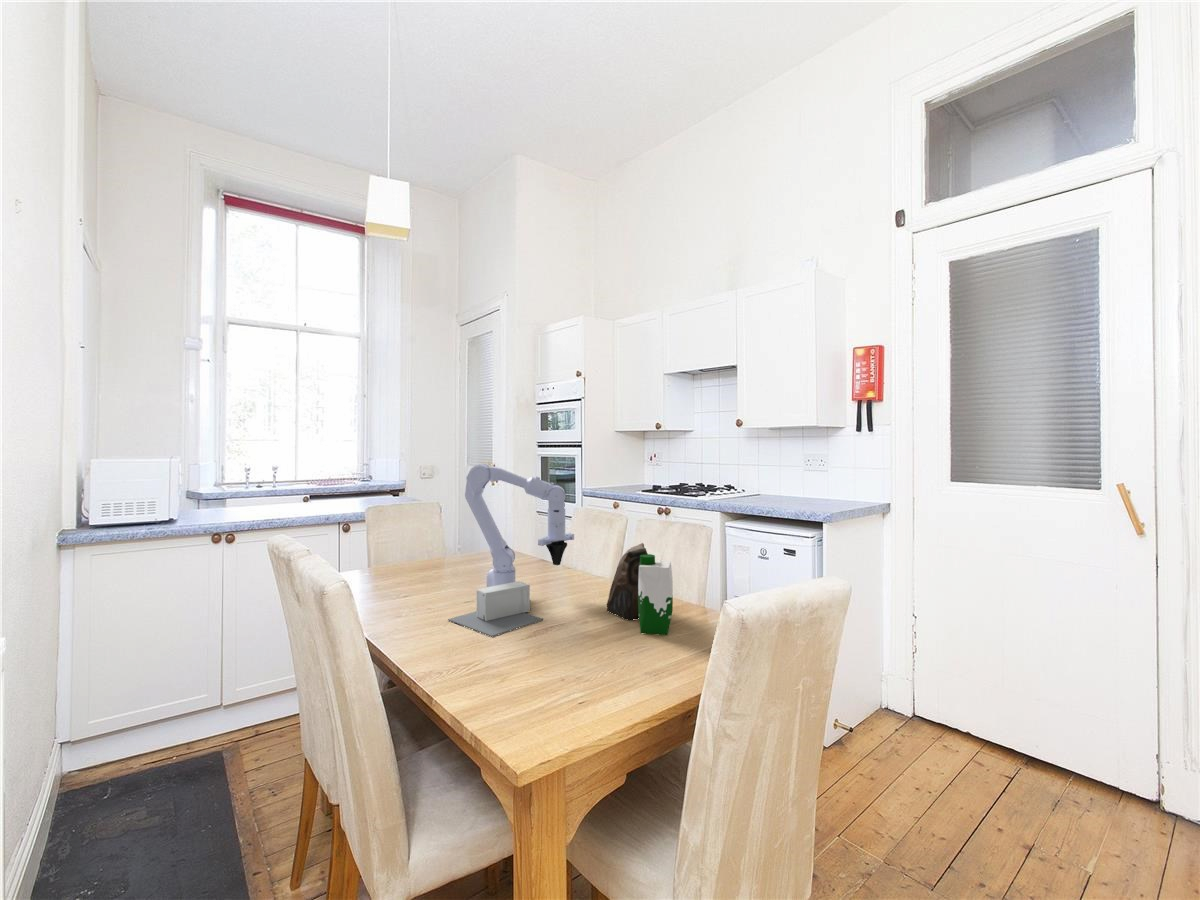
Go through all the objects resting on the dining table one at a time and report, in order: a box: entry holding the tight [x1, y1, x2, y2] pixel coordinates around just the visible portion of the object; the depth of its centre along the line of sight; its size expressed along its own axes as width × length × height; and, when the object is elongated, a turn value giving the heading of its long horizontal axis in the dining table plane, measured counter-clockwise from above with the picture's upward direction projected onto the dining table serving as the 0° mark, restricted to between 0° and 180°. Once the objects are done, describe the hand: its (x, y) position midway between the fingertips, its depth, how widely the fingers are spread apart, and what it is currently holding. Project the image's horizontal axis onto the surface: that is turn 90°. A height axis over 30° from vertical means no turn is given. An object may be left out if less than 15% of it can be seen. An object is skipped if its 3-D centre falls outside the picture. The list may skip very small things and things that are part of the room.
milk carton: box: [638, 553, 674, 636], centre depth 148 cm, size 9×9×20 cm
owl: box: [606, 542, 649, 621], centre depth 161 cm, size 13×13×20 cm
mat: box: [447, 610, 544, 638], centre depth 156 cm, size 20×18×1 cm
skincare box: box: [475, 580, 531, 621], centre depth 161 cm, size 8×6×15 cm
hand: (556, 564), depth 180 cm, fingers closed
